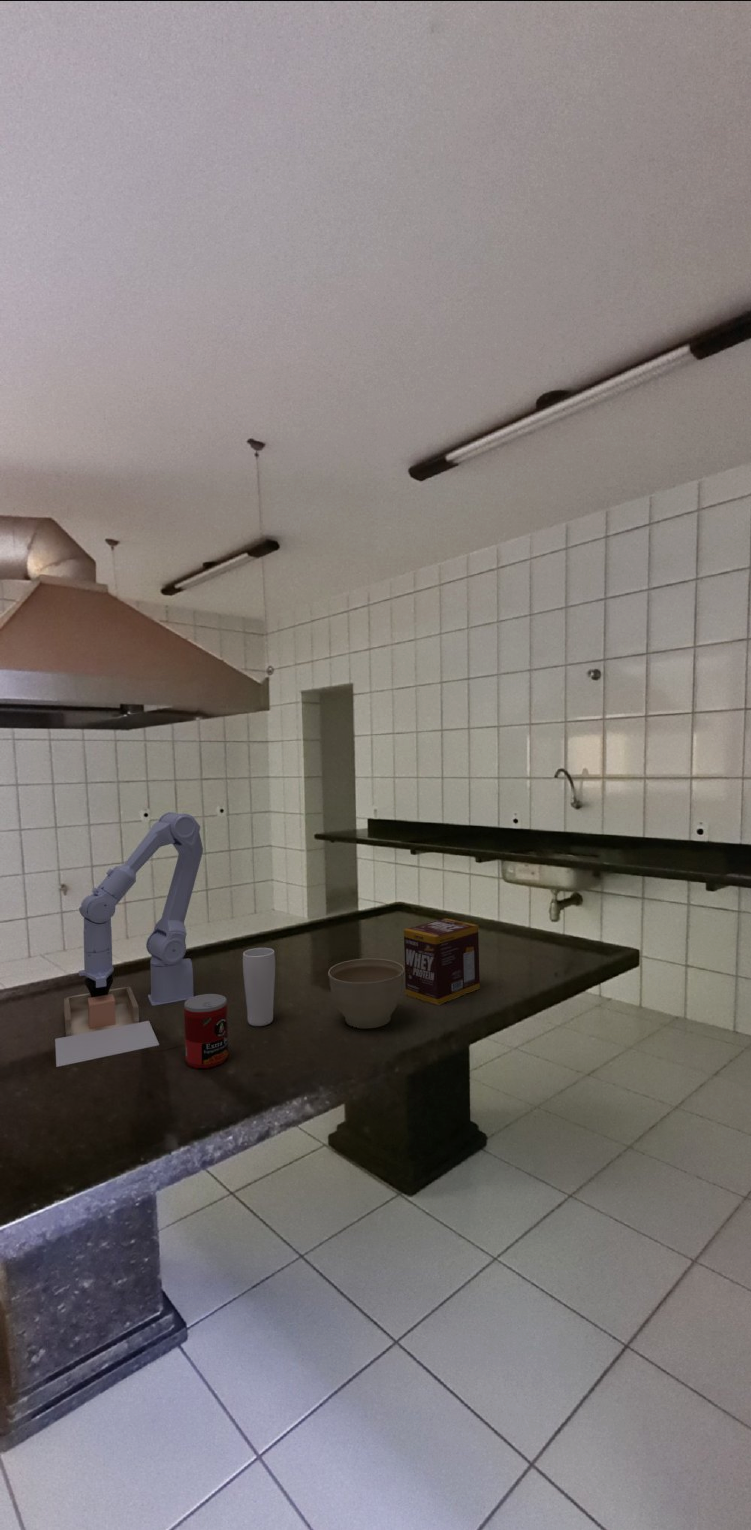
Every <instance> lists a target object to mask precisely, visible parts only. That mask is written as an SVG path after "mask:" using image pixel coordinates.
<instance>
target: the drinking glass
mask: <svg viewBox="0 0 751 1530" xmlns="http://www.w3.org/2000/svg"><path fill="white" fill-rule="evenodd" d="M242 973H243V974H242V975H243V976H242V977H243V984H244V985H243V986H244V993H245V1001H246V1002H245V1003H246V1010H247V1011H246V1012H247V1022H248V1024H249V1025H250V1026H252V1027H263V1026H267V1025H270V1024H271V1023H272V1022H273V1020H274V995H275V994H274V993H275V983H276V982H275V979H276V956H275V950H274V949H272V948H269V947H257V948H256V947H255V948H251V949H247V950H245V951H243V953H242Z"/></svg>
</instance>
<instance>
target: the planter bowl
mask: <svg viewBox="0 0 751 1530" xmlns="http://www.w3.org/2000/svg"><path fill="white" fill-rule="evenodd" d="M327 975H328V979H329V986H330V993H331V996H332V999H333V1000H334V1003H335V1005H336V1007H337V1008H338V1010H339V1011H340V1013H341V1014H342V1015H343V1016H344V1017H345V1018H344V1019H345V1022H346V1024H347V1025H349V1026H350V1027H352V1026H353V1028H356V1027H357V1029H377V1028H379V1027H383V1026H385V1025H387V1024H388V1023H389V1022H390V1021H391V1018H392V1013H394V1011H395V1009H396V1007H397V1006H398V1003H399V1002H400V999H401V996H402V993H403V988H404V977H405V966H404V965H402V964H401V963H400V962H397V961H394V960H390V959H386V958H385V959H384V958H358V959H350V960H347V961H342V962H339V963H336V964H335V965H333V966H331V967H330V968H329V969H328V972H327Z"/></svg>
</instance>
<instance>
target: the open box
mask: <svg viewBox="0 0 751 1530" xmlns="http://www.w3.org/2000/svg"><path fill="white" fill-rule="evenodd" d="M109 994H113V996H114V999H115V1019H116V1025H111V1026H105V1027H100V1028H95V1029H90V1027H89V1022H88V998H91V994H90V992H87V993H83V994H82V993H81V994H78V995H77V994H75V995H71V996H64V997H63V1015H64V1026H65V1037H68V1036H73V1035H78V1034H83V1033H88V1032H93V1031H98V1030H103V1029H109V1028H114V1027H119V1026H124V1025H129V1024H134V1023H139V1022H140V1009H139V1008H140V1007H139V1004H138V1002H137V1000H136V997H135V995H134V992H133V990H132V988H131V986H129V985H128V986H124V987H117V988H112V989H111V988H110V989H109V992H108V995H109Z"/></svg>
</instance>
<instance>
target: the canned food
mask: <svg viewBox="0 0 751 1530" xmlns="http://www.w3.org/2000/svg"><path fill="white" fill-rule="evenodd" d="M227 1003H228V1002H227V997H226V996H224V995H221V994H219V993H218V994H217V993H205V994H204V993H203V994H199V995H195V996H194V997H192V998H189V999H188V998H187V999H186V1000H184V1004H183V1005H184V1006H183V1008H184V1009H183V1011H184V1013H183V1015H184V1019H183V1020H184V1021H183V1022H184V1044H185V1046H184V1047H185V1049H184V1050H185V1051H184V1052H185V1061H186V1063H187V1065H188V1066H189V1067H190V1068H191V1067H192V1068H193V1067H194V1068H193V1069H198V1068H206V1069H210V1068H209V1067H212V1066H215V1065H218V1064H220V1063H221V1062H223V1061H224V1060H225V1059H226V1058H227V1059H228V1056H229V1055H228V1054H229V1037H228V1035H229V1034H228V1031H229V1030H228V1029H229V1028H228V1027H229V1026H228V1004H227ZM227 1059H226V1060H227ZM226 1060H225V1061H226ZM225 1061H224V1062H225ZM224 1062H223V1063H224ZM220 1065H221V1064H220ZM218 1066H219V1065H218ZM215 1067H216V1066H215ZM212 1068H213V1067H212Z"/></svg>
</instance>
